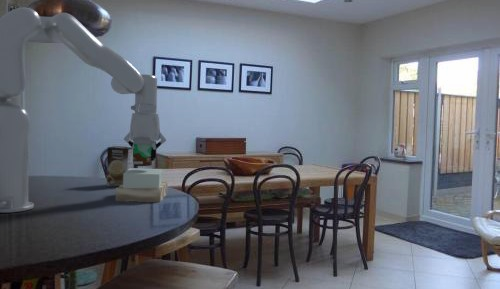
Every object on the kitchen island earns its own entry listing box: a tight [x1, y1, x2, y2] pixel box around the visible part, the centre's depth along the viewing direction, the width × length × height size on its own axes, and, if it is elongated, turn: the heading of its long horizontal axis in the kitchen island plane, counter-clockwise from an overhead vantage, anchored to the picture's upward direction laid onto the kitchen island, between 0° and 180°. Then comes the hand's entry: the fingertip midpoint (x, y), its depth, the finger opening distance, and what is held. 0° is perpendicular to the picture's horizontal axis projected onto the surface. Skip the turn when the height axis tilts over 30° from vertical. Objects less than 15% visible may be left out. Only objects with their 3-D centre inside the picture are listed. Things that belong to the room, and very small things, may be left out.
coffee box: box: [106, 146, 134, 187], centre depth 183 cm, size 9×6×16 cm
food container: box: [132, 138, 157, 167], centre depth 158 cm, size 12×6×10 cm, turn 178°
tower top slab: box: [123, 167, 163, 189], centre depth 159 cm, size 16×12×5 cm
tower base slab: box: [115, 181, 168, 203], centre depth 159 cm, size 17×15×5 cm
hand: (144, 159), depth 158 cm, fingers closed on food container, 5 cm apart
